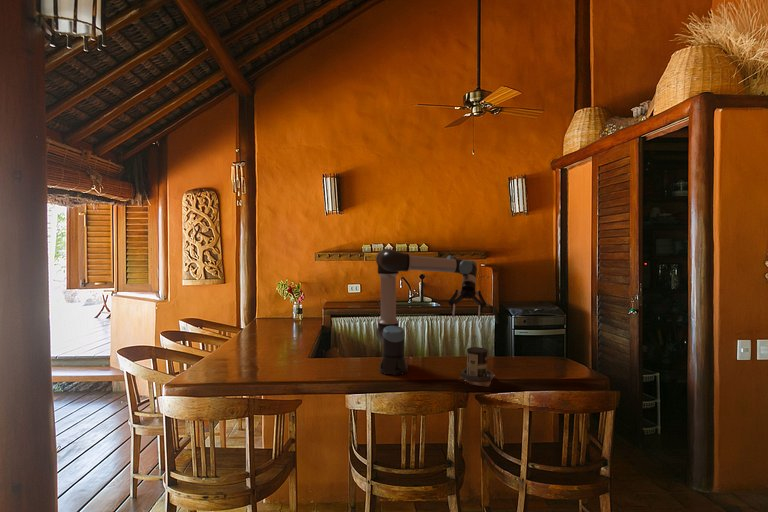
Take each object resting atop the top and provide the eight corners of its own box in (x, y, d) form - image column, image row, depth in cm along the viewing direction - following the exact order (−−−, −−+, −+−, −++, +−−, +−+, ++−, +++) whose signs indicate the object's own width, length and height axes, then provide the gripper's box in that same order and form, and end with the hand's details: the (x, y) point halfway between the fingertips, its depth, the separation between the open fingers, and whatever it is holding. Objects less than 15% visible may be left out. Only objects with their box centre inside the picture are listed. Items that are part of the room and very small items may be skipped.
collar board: (458, 382, 238) (458, 374, 237) (466, 373, 251) (466, 366, 251) (488, 386, 231) (488, 378, 231) (495, 377, 245) (495, 370, 245)
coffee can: (487, 374, 245) (487, 347, 244) (487, 381, 235) (487, 353, 234) (466, 373, 247) (467, 346, 246) (466, 379, 237) (466, 351, 236)
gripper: (491, 289, 268) (490, 321, 254) (447, 287, 274) (443, 318, 261) (491, 281, 262) (489, 313, 249) (446, 279, 269) (442, 310, 255)
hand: (466, 316), depth 255 cm, fingers open, 13 cm apart
